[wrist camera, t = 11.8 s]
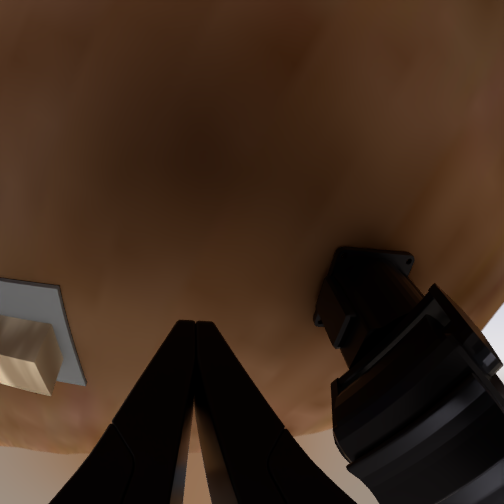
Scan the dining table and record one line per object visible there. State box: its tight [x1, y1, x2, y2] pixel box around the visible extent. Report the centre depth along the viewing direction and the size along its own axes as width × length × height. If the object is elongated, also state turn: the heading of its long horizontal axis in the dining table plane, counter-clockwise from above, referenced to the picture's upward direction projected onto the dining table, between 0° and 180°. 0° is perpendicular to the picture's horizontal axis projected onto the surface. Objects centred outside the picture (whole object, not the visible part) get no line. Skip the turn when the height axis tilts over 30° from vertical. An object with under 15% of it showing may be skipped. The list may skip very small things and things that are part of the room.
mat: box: [0, 278, 87, 386], centre depth 20 cm, size 10×11×1 cm
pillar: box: [0, 315, 63, 396], centre depth 18 cm, size 4×4×8 cm
